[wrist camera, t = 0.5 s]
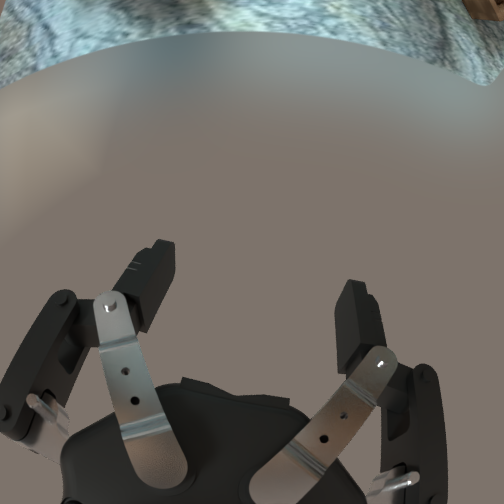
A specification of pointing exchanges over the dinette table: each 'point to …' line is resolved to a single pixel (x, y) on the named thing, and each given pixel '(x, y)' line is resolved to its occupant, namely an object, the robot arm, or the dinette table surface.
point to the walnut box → (485, 9)
